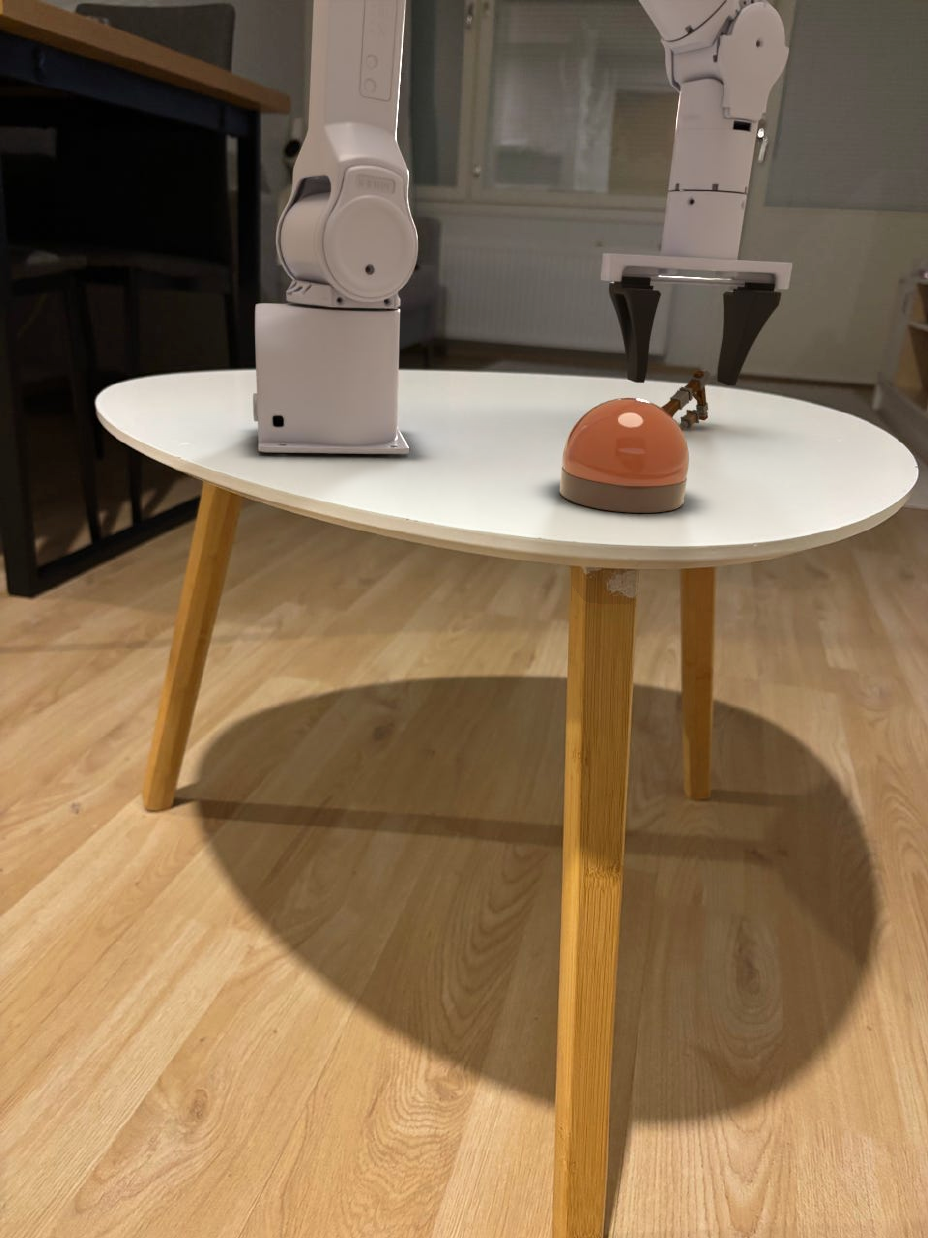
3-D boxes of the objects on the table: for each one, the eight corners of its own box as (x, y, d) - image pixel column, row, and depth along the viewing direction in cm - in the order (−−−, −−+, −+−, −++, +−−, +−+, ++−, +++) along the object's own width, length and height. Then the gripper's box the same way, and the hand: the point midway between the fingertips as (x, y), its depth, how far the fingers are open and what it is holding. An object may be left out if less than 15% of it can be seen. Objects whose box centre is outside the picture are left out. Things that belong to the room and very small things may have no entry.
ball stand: (576, 540, 49) (590, 407, 46) (543, 505, 55) (553, 387, 52) (699, 540, 50) (719, 411, 47) (653, 505, 56) (668, 390, 54)
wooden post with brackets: (719, 413, 76) (717, 364, 73) (668, 463, 72) (663, 412, 69) (700, 410, 77) (697, 361, 74) (649, 459, 73) (643, 409, 70)
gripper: (771, 201, 72) (743, 377, 77) (596, 190, 69) (579, 372, 75) (818, 198, 66) (784, 390, 71) (627, 185, 63) (606, 385, 68)
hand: (681, 382), depth 72 cm, fingers open, 7 cm apart
